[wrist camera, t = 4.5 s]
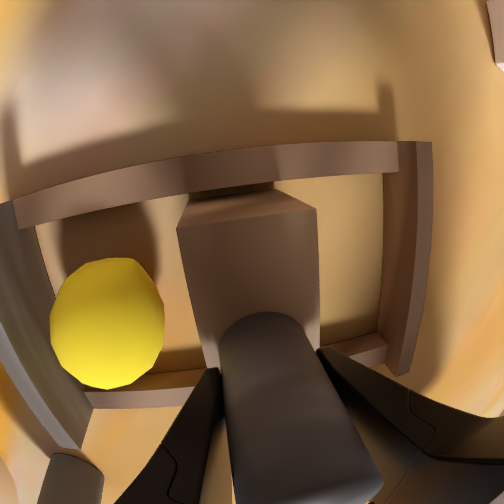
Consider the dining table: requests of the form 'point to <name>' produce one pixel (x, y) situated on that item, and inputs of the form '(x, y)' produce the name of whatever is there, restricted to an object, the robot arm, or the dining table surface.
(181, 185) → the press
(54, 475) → the bottle
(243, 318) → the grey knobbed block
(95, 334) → the lemon
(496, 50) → the milk carton
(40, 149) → the dining table surface
